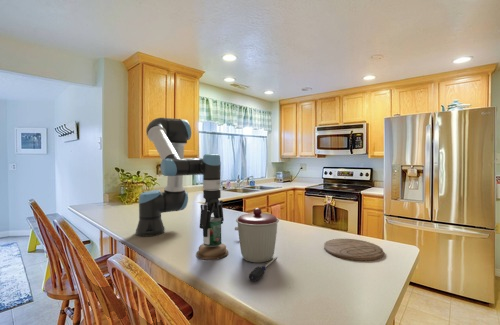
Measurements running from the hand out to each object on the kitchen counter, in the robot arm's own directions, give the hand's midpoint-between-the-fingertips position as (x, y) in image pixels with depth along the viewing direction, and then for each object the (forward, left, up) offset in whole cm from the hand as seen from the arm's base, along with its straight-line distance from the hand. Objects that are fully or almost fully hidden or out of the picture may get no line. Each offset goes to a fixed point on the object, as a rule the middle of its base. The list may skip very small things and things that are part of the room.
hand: (212, 240), depth 117 cm
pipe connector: (+3, +25, -6) cm, 26 cm away
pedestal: (0, 0, -6) cm, 6 cm away
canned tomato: (0, 0, -1) cm, 1 cm away
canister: (+20, +4, -6) cm, 21 cm away
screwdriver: (+28, -5, -6) cm, 29 cm away
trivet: (+55, +31, -6) cm, 63 cm away
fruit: (+5, +47, -6) cm, 48 cm away
